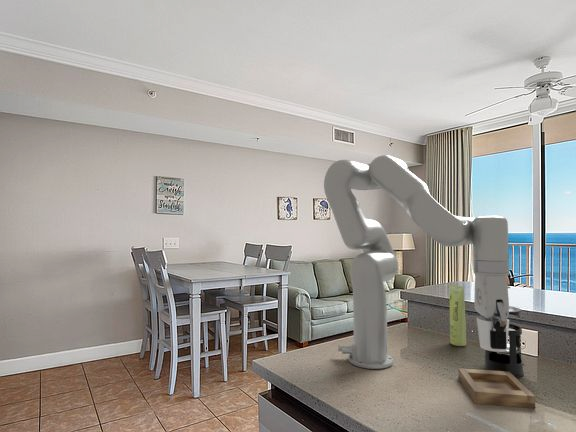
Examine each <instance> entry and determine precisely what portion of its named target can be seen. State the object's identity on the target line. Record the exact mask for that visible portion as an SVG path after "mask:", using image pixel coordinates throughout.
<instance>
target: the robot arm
mask: <svg viewBox="0 0 576 432" xmlns="http://www.w3.org/2000/svg"><path fill="white" fill-rule="evenodd" d="M328 167H329V168H328V169H327V171H326V173H325V175H324V180H323V188H324V189H323V190H324V194H325V196H326V199H327V202H328V204H329V206H330V209H331V211H332V214H333V217H334V220H335V223H336V225H337V228H338V230H339V234H340V235H341V239H342V242H343V243H344V245H345V246H346V247H347V248H348V249H350V250H355V251H356V250H357V251H358V250H359V251H360V250H362V253H360V254H358V255H356V256H355V257H354V258H353V259H352V261H351V264H350V267H349V273H350V275H349V276H350V280H351V281H350V282H351V286H352V302H353V305H352V306H353V309H352V310H353V313H352V314H353V341H352V344H351V343H350V344H349V345H345V344H338V352H341V353H342V355H343V354H344V355H345V354H348V362H349V363H351V364H352V365H354V366H356V367H359V368H362V369H363V368H364V369H369V370H370V369H371V370H372V369H374V370H378V369H379V370H381V369H387V368H390V367H391V366H392V365H393V364H394V359H393V356H391V355H390V354H388V308H387V303H388V301H387V294H386V293H387V292H386V289H385V284H384V283H385V282H389V281H391V280H392V279H393V278H394V277H396V275H397V273H398V269H399V264H398V259H397V257H396V254H395V251H394V249H393V246H392V244H391V241H390V238H389V237H388V234H387V232H386V230H385V228H384V227H383V226H382V224H381V223H380V222H378V221H377V220H374V219H371V218H367V217H366V216H365V214H364V213H363V210H362V207H361V205H360V203H359V200H358V199H357V197H356V196H355V195H354V194H353V191H352V190H357V191H371V190H373V191H374V190H383V191H384V192H386V193H387V194H388V195H389V196H390V197H391V198H392V199H393V200H394V201H395V202H397V203H398V204H399V205H400V206H401V207H403V209H404V211H405V212H406V213H407V215H408V216H409V217H410V219H411V220H412V221H413V222H414V223H415V224H416V225H417V226H418V227H419V228H420V229H421V230H422V231H423V232H425V233H426V234H427V235H428V236H429V237H430V238H431V239H432V240H434V241H435V242H436V243H437V244H439V245H442V246H444V247H449V248H450V247H451V248H452V247H460V246H467V245H468V246H469V245H472V259H473V260H472V265H473V266H472V267H473V269H472V270H473V274H475V278H474V299H473V300H474V306H473V307H474V310H475V311H476V312H477V313H478V314H480V316H484V317H485V318H489V317H490V321H491V328H492V330H490V346H491V348H492V349H506V348H507V345H506V323H507V321H508V318H509V315H510V314H509V306H510V301H509V300H510V298H509V288H508V287H507V286H508V280H507V276H510V261H509V260H510V255H509V251H510V250H509V249H510V248H509V224H508V219H507V217H505V216H501V215H500V216H499V215H483V216H476V217H466V216H461V215H460V216H459V215H454V214H452V213H451V212H450V211H448V209H447V208H445V207H444V206H443V205H441V204H440V203H439V202H438V201H437V200H436V199H435V198H434V197H433V196H432V195H431V193H430V191H429V186H428V185H427V184H426V183H425V182H424V181H423V180H422V179H421V178H419V177H418V176H416V175H415V174H414V173H413V172H411V171H410V169H409V166H408V164H406V162H404V161H403V160H402V159H400V158H397V157H393V156H391V155H386V154H385V155H384V154H383V155H379V156H377V157H375V158H374V159H373V160H372V161H371V162H370V163H362V162H358V161H354V160H350V159H340V160H337V161H335V162H333V163H332V164H331V165H330V166H328ZM495 315H498V316H499V317H493V316H495ZM494 320H499V321H497V322H496V324H495V321H494Z"/></svg>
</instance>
